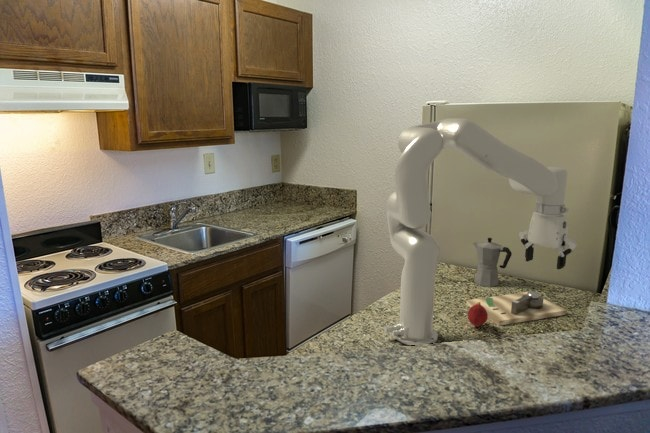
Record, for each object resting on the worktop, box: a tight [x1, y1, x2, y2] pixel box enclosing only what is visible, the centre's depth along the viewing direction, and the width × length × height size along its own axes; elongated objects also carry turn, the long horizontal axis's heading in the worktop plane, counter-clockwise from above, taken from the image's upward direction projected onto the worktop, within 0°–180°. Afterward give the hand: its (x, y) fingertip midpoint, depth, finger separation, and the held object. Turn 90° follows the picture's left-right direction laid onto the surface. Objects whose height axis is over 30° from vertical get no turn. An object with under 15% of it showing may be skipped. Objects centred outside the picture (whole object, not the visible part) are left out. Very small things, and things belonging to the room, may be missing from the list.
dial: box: [511, 290, 545, 315], centre depth 151 cm, size 15×6×4 cm, turn 128°
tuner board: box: [466, 291, 568, 326], centre depth 155 cm, size 26×17×2 cm, turn 108°
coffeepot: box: [472, 237, 513, 288], centre depth 176 cm, size 15×9×18 cm, turn 43°
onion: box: [467, 302, 488, 328], centre depth 141 cm, size 6×6×8 cm
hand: (544, 264), depth 141 cm, fingers open, 9 cm apart
